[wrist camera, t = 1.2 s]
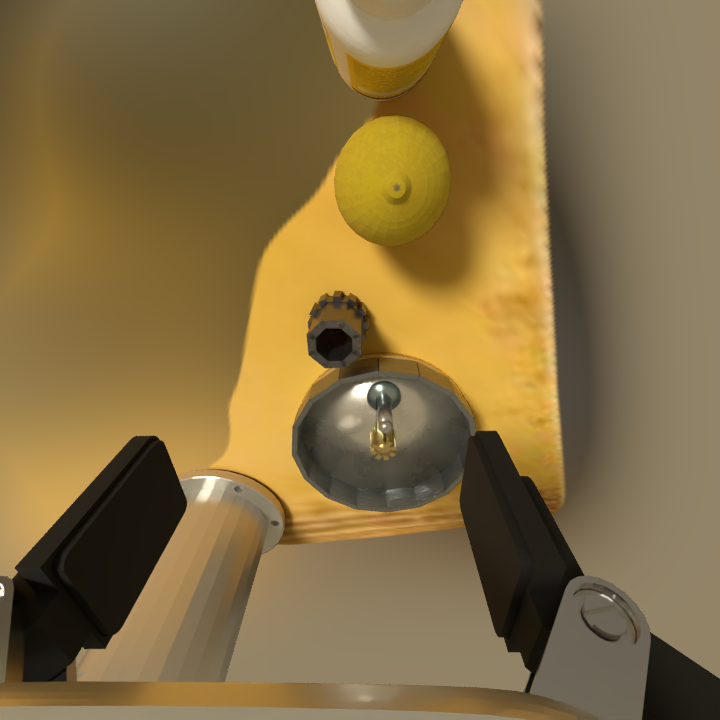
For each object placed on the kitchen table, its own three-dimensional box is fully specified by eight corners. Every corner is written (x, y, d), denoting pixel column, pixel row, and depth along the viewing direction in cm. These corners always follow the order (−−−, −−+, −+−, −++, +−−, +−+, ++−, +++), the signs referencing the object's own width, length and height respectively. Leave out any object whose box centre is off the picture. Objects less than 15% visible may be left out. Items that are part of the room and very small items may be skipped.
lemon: (451, 150, 19) (498, 136, 12) (411, 245, 22) (430, 280, 15) (359, 109, 18) (352, 69, 11) (328, 213, 21) (307, 233, 14)
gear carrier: (407, 504, 33) (412, 554, 29) (273, 449, 30) (256, 495, 26) (504, 402, 27) (529, 446, 23) (348, 320, 24) (343, 353, 20)
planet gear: (368, 344, 25) (368, 374, 22) (313, 344, 25) (303, 374, 22) (368, 290, 23) (368, 312, 20) (308, 291, 23) (296, 313, 20)
